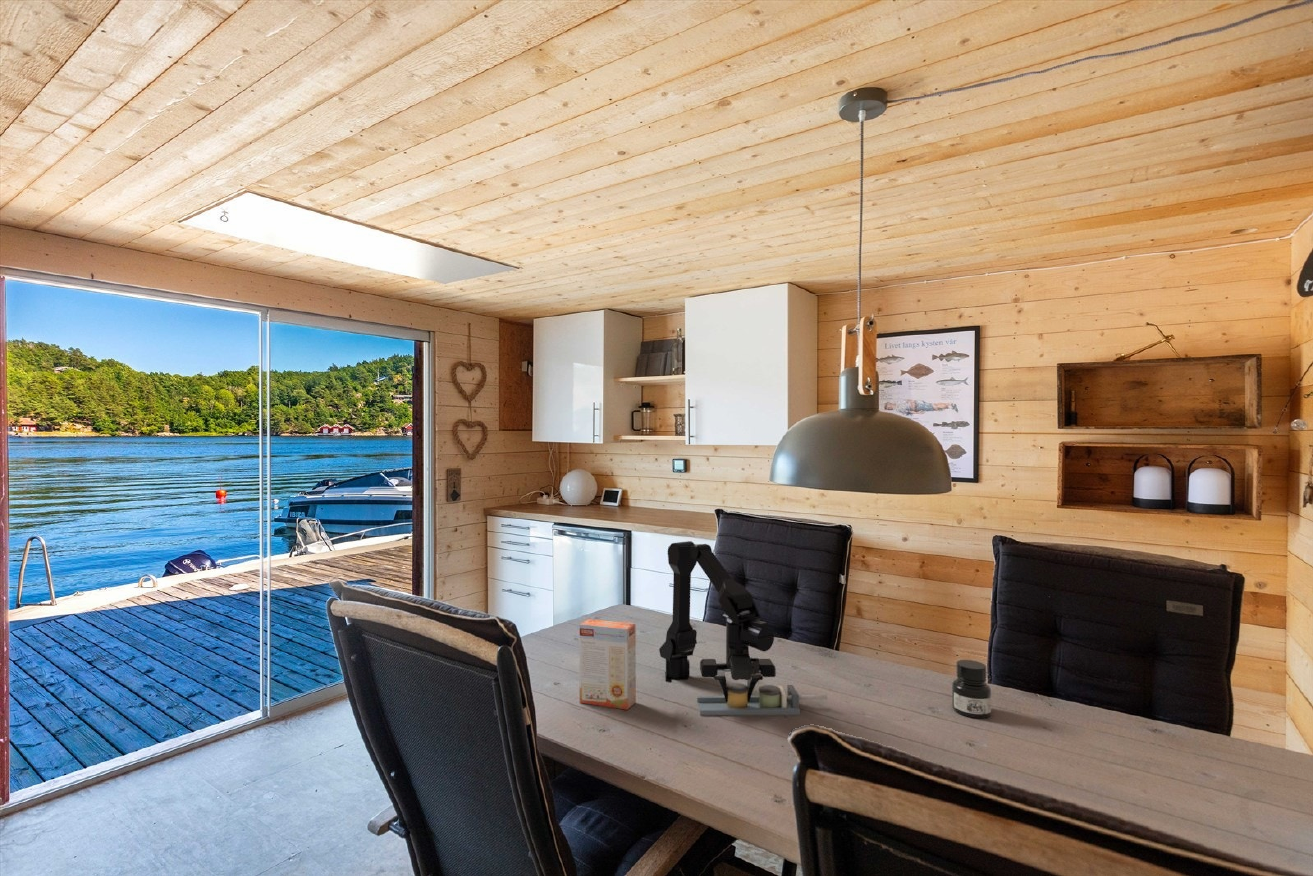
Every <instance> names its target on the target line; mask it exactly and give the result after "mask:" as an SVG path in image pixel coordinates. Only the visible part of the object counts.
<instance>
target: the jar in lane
mask: <svg viewBox="0 0 1313 876" xmlns="http://www.w3.org/2000/svg"><path fill="white" fill-rule="evenodd" d="M758 693H759V694H758V695H759V707H760V708H780V688H778V686H777V685H776V686H775V685H772V684H771V685H770V684H765V685H760V687H758Z"/></svg>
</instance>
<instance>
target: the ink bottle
mask: <svg viewBox="0 0 1313 876" xmlns="http://www.w3.org/2000/svg"><path fill="white" fill-rule="evenodd" d="M955 663H956V670H955V671H956V677H957V678H955V679H954V680H953V681H952V684H951V690H952V691H951V700H952V701H951V702H952V703H951V706H952V709H953V710H954V712H956V713H958V714H959V715H962V716H964V717H965V716H966V717H970V718H975V719H986V718H988V717H990V716H991V715H992V689H991V687H990V686H989V685H988V684H987V666H986V664H984V663H983V662H980V661H977V660H973V659H972V660H971V659H960V660H957V661H956V662H955Z"/></svg>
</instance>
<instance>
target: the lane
mask: <svg viewBox="0 0 1313 876" xmlns="http://www.w3.org/2000/svg"><path fill="white" fill-rule="evenodd" d="M786 690H787V691H786V692H787V693H786V695H792V700H787V708H781V707H780V708H760V707H759V694H758V695H751V698H750V700H749V702H748V706H747V708H729V707H728V706H727V702H726V700H725V697H724V695H696V702H697V707H698V712H699V716H783V715H784V716H791V715H792V716H794V715H796V716H798V715H799V716H800V715H801V709H800V700H799V695H800V694H799V693H798V691H797V690H796V688H795V686H794V685H793V684H787V688H786Z"/></svg>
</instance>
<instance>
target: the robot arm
mask: <svg viewBox="0 0 1313 876" xmlns="http://www.w3.org/2000/svg"><path fill="white" fill-rule="evenodd" d="M667 560H668V561H667V562H668V565H669V567H670V569H671V571H672V572H673V586H672V587H673V589H672V590H673V591H672V593H673V594H672V622H671V623H670V626H669V627H668V628H667V631H666V636H665V641H664V642H663V644H662V645H661V646H660V647H659V649H658V650H659V656H660V657H661V658H663V659H664V660H665V671H664V675H665V676H664V677H665V681H666V682H672V681H673V680H674V681H675V680H676V681H681V680H682V681H686V680H689V677H690V673H691V672H690V668H691V667H690V660H689V659H688V657H690V656H693V654H694V651H695V649H696V645H697V644H698V642H697V633H698V632H697V630H696V629H694V628H693V626H692V624H691V620H690V619H691V587H692V585H691V583H692V577H691V576H692V572H693V570H694V569H695V567H696V565H697V564H698V565H699V566H700V568H701V569H702V571H703V572H704V574H705V575H706V577H707V578H708V580H709V581H710V582H711V584H712V585H713V587H714V588H715V589H716V591H717V595H718V597H717V599H718V602H719V604H720V607H721V609H723V611H724V614H722V615H721V616H720V620H723V621H725V624H726V627H725V629H726V630H725V638H726V639H725V642H726V643H725V648H726V650H725V654H726V655H725V660H726V661H725V662H724V663H723V662H722V663H718V662H717V660H716V658H702V659H701V660H700V662H699V669H700V675H701V677H703V678H713V680H715V681H718V682H719V684H720V686H721V690H722V693H723V696H724V697H725V700H726V702H728V694H727V677H726V675H725V672H730V676H731V679H732V680H733V681H739V680H745V681H747V682H746V683H747V684H746V686H747V687H748V702H749V700H750V698H751V695H752V694H753V692H754V690H755V687H756V685H757V683H758V682H759V681H762V680H764V678H775V677H776V675H777V668H776V666H775V663H774V662H773V661H772V659H771V658H758V657H750V650H749V649H750V648H749V647H751V648H753V649H756V650H759V651H761V652H768V651H769V650H770V649H771V648H772V646H773V644H774V640H775V635H774V633H773V631H772V629H771V628H769V625H768V624H769V623H768V622H766V621H761V619H762V617H761V615H760V610H759V609H758V608H757V605H756V603H755V601H754V598H753V596H752V594H751V592H750V591H749V590H748V589H747V588H746V587H745V586H744V585H742V584H741V583H739V582H737V581H735V580H734V579H733V578H732V577H731V575H730V574H729V572H728V571H727V569H725V567H724V566H723V564H722V563H721V562H720V561H719V559H718V558H717V557H716V555H715V553H714V552H713V551H712V547H711V545H710V544H707V543H701V544H700V543H699V544H697V543H694V542H693V541H691V540H687V541H679V542H672V543H671V544H670V545H669V546H668V548H667Z"/></svg>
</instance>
